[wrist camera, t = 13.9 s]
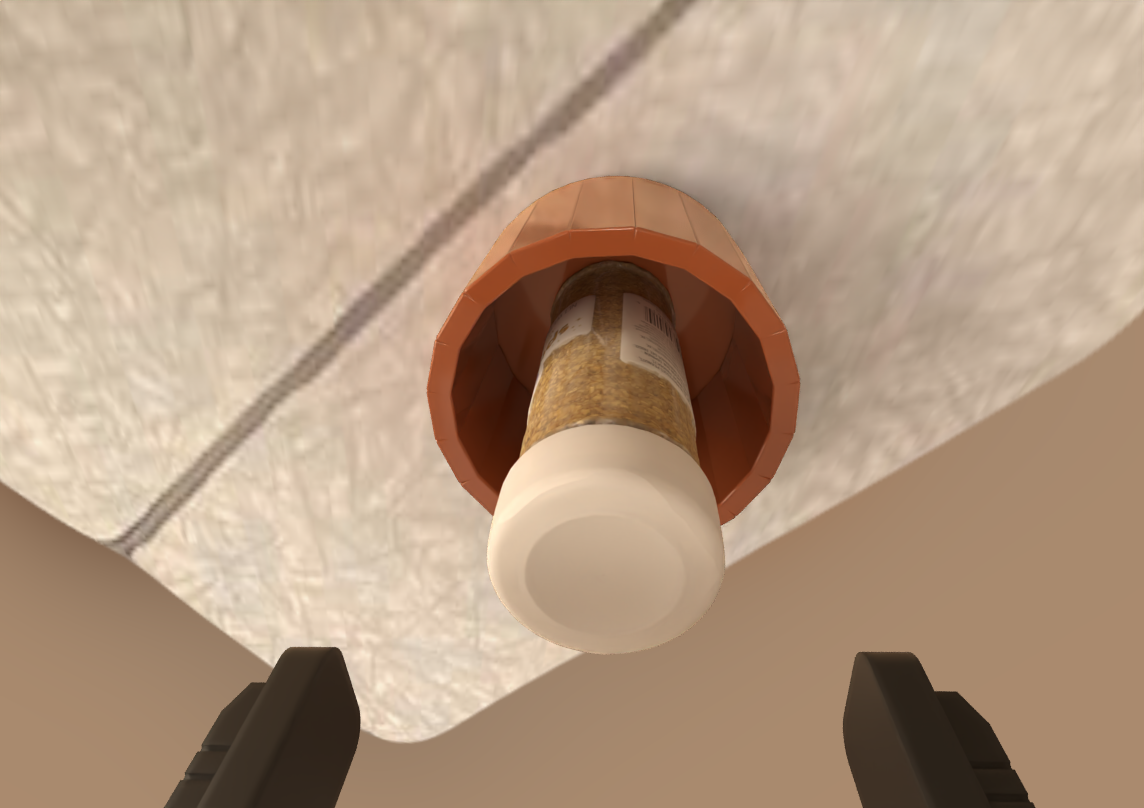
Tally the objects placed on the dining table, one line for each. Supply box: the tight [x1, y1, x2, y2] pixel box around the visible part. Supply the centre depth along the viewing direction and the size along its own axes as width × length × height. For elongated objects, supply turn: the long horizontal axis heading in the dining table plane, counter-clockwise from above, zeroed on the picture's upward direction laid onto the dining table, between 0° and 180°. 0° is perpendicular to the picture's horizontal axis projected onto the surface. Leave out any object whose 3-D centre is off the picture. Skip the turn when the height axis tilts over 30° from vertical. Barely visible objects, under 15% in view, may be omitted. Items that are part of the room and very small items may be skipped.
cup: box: [427, 176, 800, 525], centre depth 22 cm, size 10×10×8 cm
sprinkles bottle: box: [487, 260, 725, 654], centre depth 18 cm, size 5×5×14 cm
